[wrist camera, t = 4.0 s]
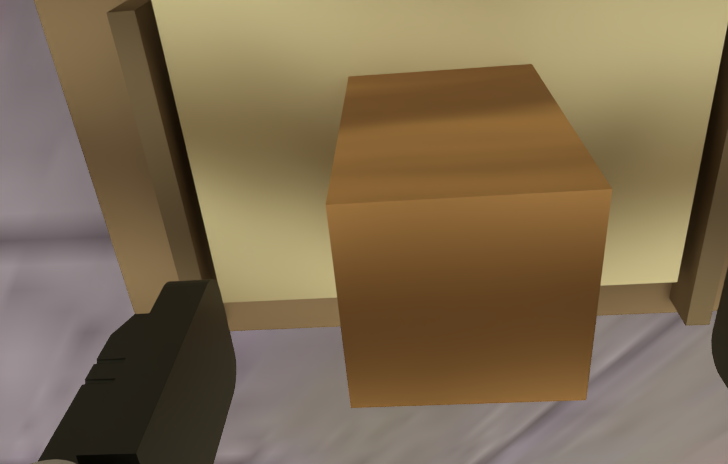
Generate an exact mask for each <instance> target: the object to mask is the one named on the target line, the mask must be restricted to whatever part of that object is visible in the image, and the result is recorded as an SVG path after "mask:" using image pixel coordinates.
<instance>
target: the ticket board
mask: <svg viewBox="0 0 728 464" xmlns="http://www.w3.org/2000/svg"><path fill="white" fill-rule="evenodd" d="M34 2H35V5H36V8H37V12H38V15H39V18H40V21H41V24H42V27H43V30H44V33H45V36H46V39H47V43H48V46H49V49H50V52H51V55H52V58H53V61H54V64H55V67H56V70H57V74H58V77H59V80H60V83H61V86H62V89H63V92H64V95H65V98H66V101H67V105H68V108H69V111H70V114H71V117H72V120H73V123H74V126H75V129H76V132H77V136H78V139H79V142H80V145H81V148H82V151H83V154H84V157H85V160H86V163H87V167H88V170H89V173H90V176H91V179H92V182H93V185H94V188H95V191H96V194H97V198H98V201H99V204H100V207H101V210H102V213H103V216H104V219H105V222H106V225H107V229H108V232H109V235H110V238H111V241H112V244H113V247H114V250H115V253H116V256H117V260H118V263H119V266H120V269H121V272H122V275H123V278H124V281H125V284H126V287H127V291H128V294H129V297H130V300H131V303H132V306H133V309H134V312H135V314H144V313H150V311H151V309H152V307H153V305H154V303H155V302H156V300H157V298H158V296H159V294H160V292H161V290H162V288H163V286H164V285H165V284H166V283H167V282H169V281H187V280H207V279H214V280H215V281H216V282H217V284H218V281H217V277H216V273H215V269H214V264H213V260H212V256H211V252H210V247H209V243H208V239H207V235H206V230H205V226H204V222H203V218H202V213H201V209H200V205H199V201H198V196H197V192H196V188H195V184H194V179H193V175H192V171H191V167H190V162H189V158H188V154H187V150H186V145H185V141H184V137H183V133H182V128H181V124H180V120H179V116H178V111H177V107H176V103H175V99H174V94H173V90H172V86H171V82H170V77H169V73H168V69H167V65H166V60H165V56H164V52H163V48H162V43H161V39H160V35H159V31H158V26H157V22H156V18H155V14H154V9H153V5H152V1H151V0H34ZM727 268H728V25H727V30H726V35H725V40H724V46H723V51H722V56H721V61H720V66H719V71H718V76H717V81H716V86H715V92H714V97H713V102H712V107H711V112H710V117H709V122H708V127H707V132H706V138H705V143H704V148H703V153H702V158H701V163H700V168H699V173H698V178H697V183H696V189H695V194H694V199H693V204H692V209H691V214H690V219H689V224H688V229H687V235H686V240H685V245H684V250H683V255H682V260H681V265H680V270H679V275H678V281H677V282H670V283H648V284H626V285H603V286H600V293H599V301H598V309H597V316H598V315H622V314H646V313H670V312H678V313H679V315H680V317H681V318H682V320H683V322H684V323H685V325H709V324H710V320H711V315H712V311H717V310H718V306H719V302H720V298H721V293H722V289H723V285H724V280H725V276H726V272H727ZM218 286H219V285H218ZM223 305H224V309H225V313H226V318H227V322H228V326H229V330H230V331H242V330H266V329H290V328H313V327H337V326H341V324H340V316H339V308H338V300H337V298H316V299H294V300H272V301H250V302H228V303H223Z"/></svg>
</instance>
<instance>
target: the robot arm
mask: <svg viewBox="0 0 728 464" xmlns="http://www.w3.org/2000/svg"><path fill="white" fill-rule="evenodd" d="M712 354H713V359H714V363H715V366H716V369H717V371H718V373H719V375H720V377H721V378H722V380H723V382H724V383H725V385H726V386H727V388H728V268H727V272H726V276H725V280H724V285H723V289H722V293H721V298H720V302H719V306H718V311H717V315H716V319H715V324H714V328H713V333H712ZM235 383H236V359H235V352H234V348H233V343H232V339H231V335H230V330H229V326H228V322H227V318H226V313H225V309H224V305H223V300H222V296H221V292H220V288H219V286H218V284H217V282H216V281H215V280H214V279H207V280H187V281H169V282H167V283H166V284H165V285H164V286H163V288H162V290H161V292H160V294H159V296H158V298H157V300H156V302H155V303H154V305H153V307H152V309H151V311H150V313H144V314H135V315H134V316H132V317H131V318H130V319H129V320H128V321H127V322H125V323H124V324H123V325H122V326H121V327H120V328H118V329H117V330H116V331H115V332H114V333H113V334H112V335H111V336H110V337H109V339H108V341H107V342H106V344H105V346H104V348H103V349H102V351H101V353H100V355H99V356H98V358H97V364H94V365H93V367H92V368H91V370H90V372H89V374H88V375H87V377H86V379H85V385H82V386H81V388H80V389H79V391H78V393H77V394H76V396H75V398H74V400H73V401H72V403H71V405H70V407H69V408H68V410H67V412H66V413H65V415H64V417H63V419H62V420H61V422H60V424H59V426H58V427H57V429H56V431H55V433H54V434H53V436H52V438H51V439H50V441H49V443H48V445H47V446H46V448H45V450H44V452H43V453H42V455H41V457H40V458H39V460H38V462H35V463H31V464H213V463H214V460H215V456H216V453H217V449H218V446H219V442H220V439H221V435H222V432H223V428H224V425H225V421H226V418H227V414H228V411H229V407H230V404H231V400H232V397H233V394H234V389H235Z"/></svg>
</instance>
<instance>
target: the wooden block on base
mask: <svg viewBox="0 0 728 464" xmlns="http://www.w3.org/2000/svg"><path fill="white" fill-rule="evenodd" d="M151 1H152V5H153V9H154V14H155V18H156V22H157V26H158V31H159V35H160V39H161V43H162V48H163V52H164V56H165V60H166V65H167V69H168V73H169V77H170V82H171V86H172V90H173V94H174V99H175V103H176V107H177V111H178V116H179V120H180V124H181V128H182V133H183V137H184V141H185V145H186V150H187V154H188V158H189V162H190V167H191V171H192V175H193V179H194V184H195V188H196V192H197V196H198V201H199V205H200V209H201V213H202V218H203V222H204V226H205V230H206V235H207V239H208V243H209V247H210V252H211V256H212V260H213V264H214V269H215V273H216V277H217V281H218V285H219V288H220V292H221V296H222V300H223V303H228V302H250V301H272V300H294V299H316V298H337V300H338V308H339V316H340V324H341V332H342V340H343V348H344V356H345V364H346V372H347V380H348V388H349V396H350V404H351V408H362V407H392V406H422V405H452V404H482V403H512V402H542V401H572V400H586V397H587V389H588V381H589V373H590V365H591V357H592V349H593V341H594V333H595V325H596V317H597V309H598V301H599V293H600V286H603V285H626V284H648V283H670V282H677V281H678V275H679V270H680V265H681V260H682V255H683V250H684V245H685V240H686V235H687V229H688V224H689V219H690V214H691V209H692V204H693V199H694V194H695V189H696V183H697V178H698V173H699V168H700V163H701V158H702V153H703V148H704V143H705V138H706V132H707V127H708V122H709V117H710V112H711V107H712V102H713V97H714V92H715V86H716V81H717V76H718V71H719V66H720V61H721V56H722V51H723V46H724V40H725V35H726V30H727V25H728V0H151Z"/></svg>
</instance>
